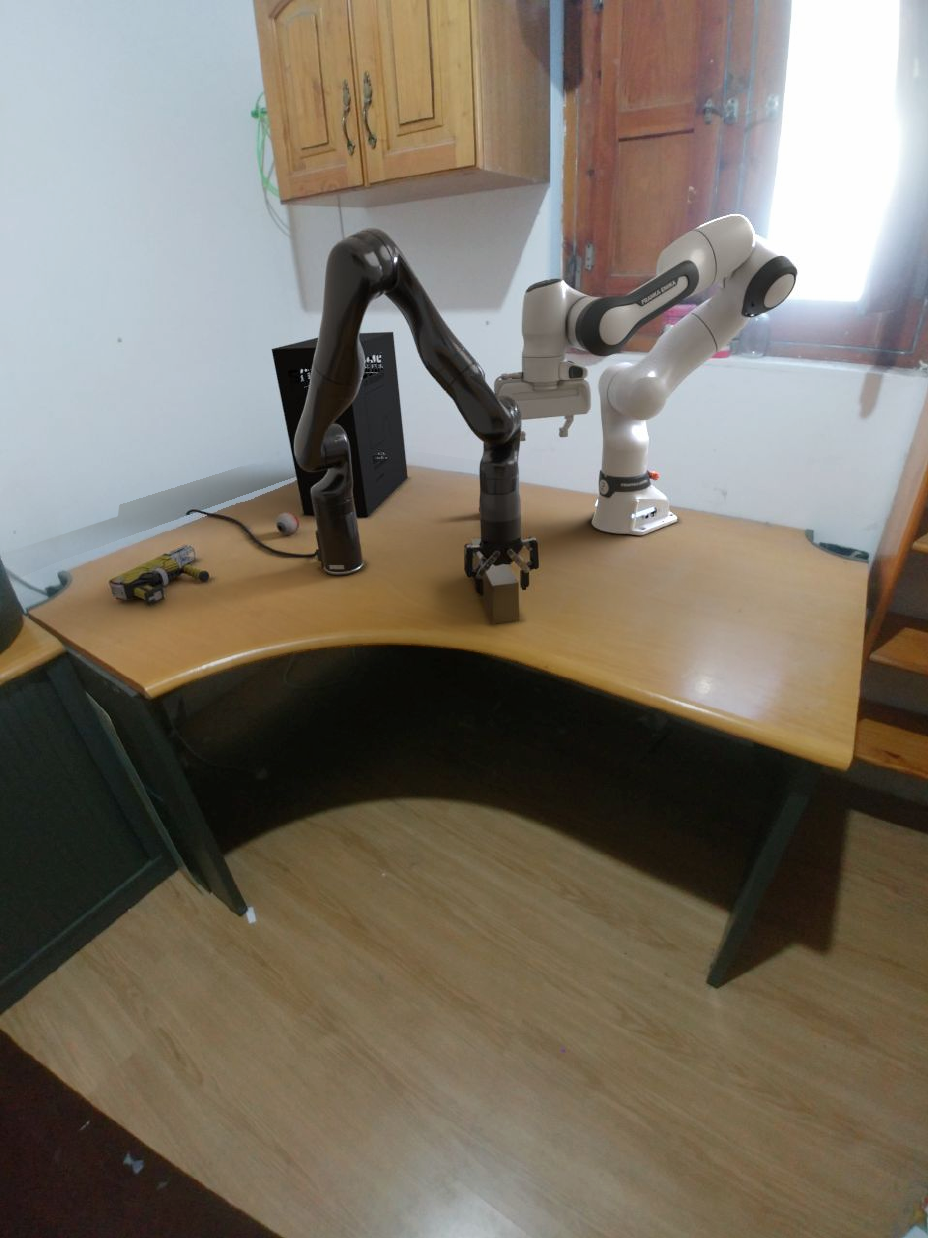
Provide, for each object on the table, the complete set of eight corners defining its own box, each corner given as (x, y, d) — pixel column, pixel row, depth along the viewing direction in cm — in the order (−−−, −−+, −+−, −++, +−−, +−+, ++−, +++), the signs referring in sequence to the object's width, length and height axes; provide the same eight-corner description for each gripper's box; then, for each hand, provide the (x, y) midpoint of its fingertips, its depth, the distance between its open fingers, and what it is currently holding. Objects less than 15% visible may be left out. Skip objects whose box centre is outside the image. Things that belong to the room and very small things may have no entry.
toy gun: (232, 553, 147) (182, 542, 151) (158, 593, 127) (102, 580, 131) (234, 570, 150) (185, 559, 154) (162, 613, 130) (107, 599, 134)
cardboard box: (367, 516, 174) (344, 346, 151) (303, 514, 178) (271, 348, 156) (407, 477, 205) (393, 331, 183) (352, 476, 210) (331, 334, 187)
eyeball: (273, 537, 164) (268, 516, 161) (287, 528, 169) (282, 508, 166) (291, 539, 161) (286, 518, 158) (305, 530, 166) (301, 510, 163)
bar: (471, 573, 138) (470, 539, 134) (493, 570, 139) (492, 536, 134) (493, 624, 118) (492, 585, 114) (519, 620, 119) (518, 582, 114)
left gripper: (465, 523, 106) (469, 604, 114) (543, 515, 108) (542, 595, 116) (458, 510, 113) (463, 587, 121) (532, 502, 114) (532, 578, 122)
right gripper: (497, 376, 120) (498, 446, 127) (595, 368, 122) (591, 437, 129) (490, 372, 125) (492, 439, 132) (585, 364, 127) (582, 431, 134)
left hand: (502, 591), depth 118 cm, fingers open, 8 cm apart
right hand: (542, 438), depth 130 cm, fingers open, 8 cm apart
